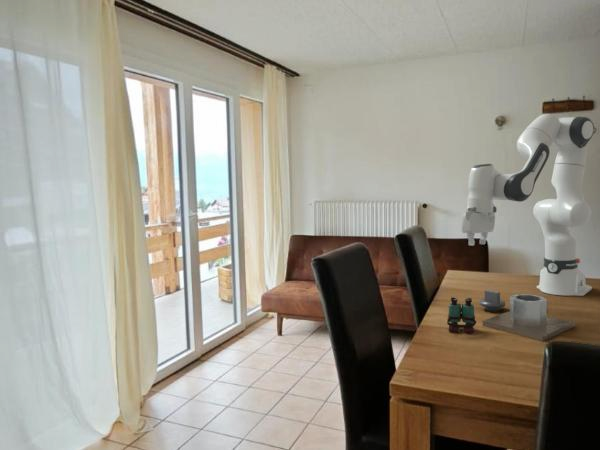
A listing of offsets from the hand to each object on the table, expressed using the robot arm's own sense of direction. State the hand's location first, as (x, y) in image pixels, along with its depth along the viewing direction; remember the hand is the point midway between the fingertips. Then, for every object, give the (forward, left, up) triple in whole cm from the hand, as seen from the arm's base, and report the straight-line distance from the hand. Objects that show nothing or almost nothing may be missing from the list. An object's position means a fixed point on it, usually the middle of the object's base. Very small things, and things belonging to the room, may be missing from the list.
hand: (476, 244), depth 166 cm
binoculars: (+24, +11, -25) cm, 36 cm away
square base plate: (+4, +22, -25) cm, 33 cm away
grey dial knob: (-4, +4, -25) cm, 25 cm away
